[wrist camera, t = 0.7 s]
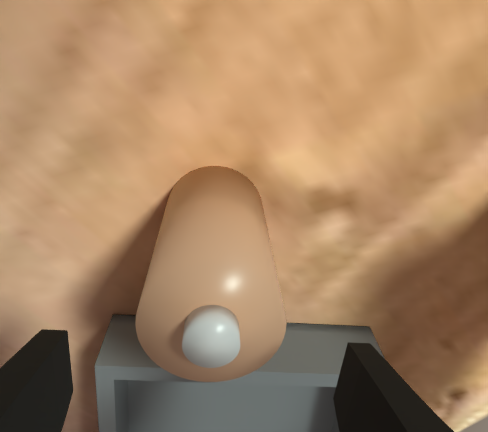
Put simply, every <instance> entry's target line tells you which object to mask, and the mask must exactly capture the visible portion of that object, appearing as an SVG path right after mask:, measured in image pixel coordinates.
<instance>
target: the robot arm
mask: <svg viewBox="0 0 488 432" xmlns="http://www.w3.org/2000/svg"><path fill="white" fill-rule="evenodd" d="M72 393H73V384H72V373H71V363H70V353H69V343H68V332H67V331H66V330H41V331H40V332H38V333H37V334H36V335H35V336H34V337H33V338H32V339H31V340H30V341H29V342H28V343H27V344H26V345H24V346H23V347H22V348H21V349H20V350H19V351H18V352H17V353H16V354H15V355H14V356H13V357H12V358H11V359H10V360H8V361H7V362H6V363H5V364H4V365H3V366H2V367H1V368H0V432H61V431H62V427H63V424H64V421H65V417H66V414H67V411H68V407H69V404H70V400H71V396H72ZM333 400H334V406H335V411H336V417H337V422H338V427H339V432H454V431H453V430H452V429H451V428H450V427H449V426H447V425H446V424H445V423H444V422H443V421H442V420H441V419H440V418H439V417H438V416H437V415H436V414H435V413H434V412H433V411H432V410H431V409H430V407H429V406H428V405H427V404H426V403H425V402H424V401H423V400H422V399H421V398H420V397H419V396H418V395H417V394H416V393H415V392H414V391H413V390H412V389H411V387H410V386H409V385H408V384H407V383H406V382H405V381H404V380H403V379H402V378H401V377H400V375H399V374H398V373H397V372H396V371H395V370H394V369H393V368H392V367H391V366H390V364H389V363H388V362H387V361H386V360H385V359H384V358H383V357H382V356H381V354H380V353H379V352H378V351H377V350H376V349H375V348H374V347H373V346H372V345H371V344H370V343H351V342H348V344H347V347H346V351H345V355H344V359H343V363H342V366H341V370H340V374H339V378H338V382H337V385H336V389H335V393H334V397H333Z"/></svg>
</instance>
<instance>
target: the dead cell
mask: <svg viewBox="0 0 488 432" xmlns="http://www.w3.org/2000/svg"><path fill="white" fill-rule="evenodd" d="M286 324H287V321H286V312H285V308H284V303H283V298H282V294H281V289H280V284H279V280H278V275H277V271H276V266H275V261H274V257H273V252H272V247H271V243H270V238H269V234H268V229H267V224H266V220H265V215H264V210H263V206H262V201H261V197H260V195H259V192H258V191H257V189H256V187H255V186H254V184H253V183H252V182H251V181H250V180H249V179H248V178H247V177H245V176H244V175H243V174H241V173H239V172H238V171H235V170H233V169H230V168H226V167H221V166H208V167H202V168H198V169H196V170H193V171H191V172H189V173H187V174H186V175H185V176H183V177H182V178H181V179H180V180H179V181H178V182H177V183H176V184H175V186H174V187H173V189H172V190H171V192H170V195H169V198H168V201H167V205H166V208H165V212H164V216H163V219H162V223H161V226H160V230H159V234H158V237H157V241H156V244H155V248H154V252H153V255H152V259H151V262H150V266H149V270H148V273H147V277H146V280H145V284H144V287H143V291H142V295H141V298H140V302H139V305H138V309H137V313H136V322H135V325H136V333H137V336H138V340H139V342H140V344H141V346H142V348H143V350H144V351H145V353H146V354H147V355H148V356H149V357H150V359H151V360H152V361H154V362H155V363H156V364H157V365H158V366H160V367H161V368H163V369H164V370H166V371H168V372H169V373H171V374H174V375H176V376H179V377H181V378H185V379H188V380H193V381H200V382H220V381H228V380H232V379H236V378H239V377H242V376H245V375H247V374H249V373H252V372H253V371H255V370H257V369H259V368H260V367H261V366H263V365H264V364H265V363H266V362H268V361H269V360H270V359H271V358H272V357H273V355H274V354H275V353H276V352H277V350H278V349H279V347H280V345H281V343H282V341H283V339H284V335H285V332H286Z"/></svg>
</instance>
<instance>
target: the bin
mask: <svg viewBox="0 0 488 432" xmlns="http://www.w3.org/2000/svg"><path fill="white" fill-rule="evenodd" d="M135 322H136V316H134V315H112V318H111V321H110V324H109V327H108V329H107V332H106V335H105V338H104V341H103V343H102V346H101V349H100V352H99V355H98V358H97V360H96V363H95V378H96V393H97V409H98V424H99V432H339V427H338V422H337V417H336V411H335V406H334V400H333V397H334V393H335V389H336V385H337V382H338V378H339V374H340V370H341V366H342V363H343V359H344V355H345V351H346V347H347V344H348V342H351V343H370V344H371V345H372V346H373V347H374V348H375V349H376V350H377V351H378V352H379V353H380V354H381V356H382V357H383V358H384V356H383V354H382V352H381V350H380V348H379V346H378V343H377V341H376V339H375V337H374V335H373V333H372V331H371V329H370V327H366V326H345V325H324V324H303V323H287V324H286V332H285V335H284V339H283V341H282V343H281V345H280V347H279V349H278V350H277V352H276V353H275V354H274V355H273V357H272V358H271V359H270V360H269V361H268V362H266V363H265V364H264V365H263V366H261V367H260V368H259V369H257V370H255V371H253V372H252V373H249V374H247V375H245V376H242V377H239V378H236V379H232V380H228V381H220V382H200V381H193V380H188V379H185V378H181V377H179V376H176V375H174V374H171V373H169V372H168V371H166V370H164V369H163V368H161V367H160V366H158V365H157V364H156V363H155V362H154V361H152V360H151V359H150V357H149V356H148V355H147V354H146V353H145V351H144V350H143V348H142V346H141V344H140V342H139V340H138V336H137V333H136V325H135ZM384 359H385V358H384Z"/></svg>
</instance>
